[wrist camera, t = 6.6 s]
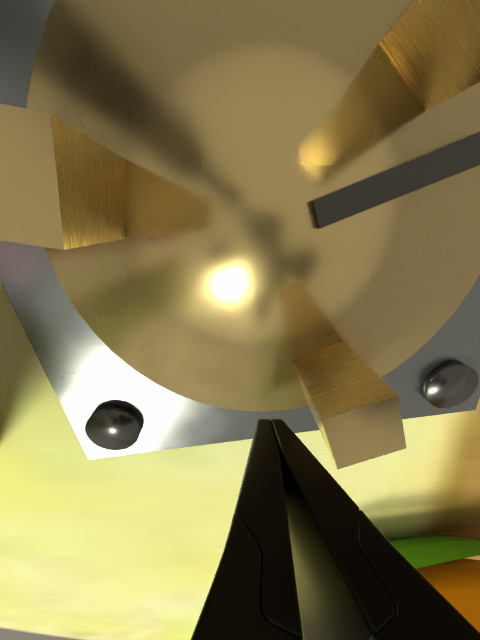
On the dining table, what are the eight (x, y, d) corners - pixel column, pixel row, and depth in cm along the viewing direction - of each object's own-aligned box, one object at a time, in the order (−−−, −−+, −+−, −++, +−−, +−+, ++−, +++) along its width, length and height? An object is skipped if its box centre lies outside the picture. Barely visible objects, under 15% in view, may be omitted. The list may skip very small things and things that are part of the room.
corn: (283, 753, 12) (709, 685, 11) (260, 547, 18) (526, 502, 18) (293, 764, 15) (623, 712, 15) (270, 586, 22) (495, 549, 21)
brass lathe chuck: (181, 425, 12) (157, 536, 8) (-48, 68, 7) (-495, -179, 3) (472, 325, 11) (629, 391, 7) (472, -205, 5) (1237, -1519, 1)
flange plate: (-174, -171, 6) (-309, -303, 4) (638, -248, 6) (771, -398, 5) (99, 439, 14) (84, 467, 12) (455, 394, 14) (482, 415, 12)
